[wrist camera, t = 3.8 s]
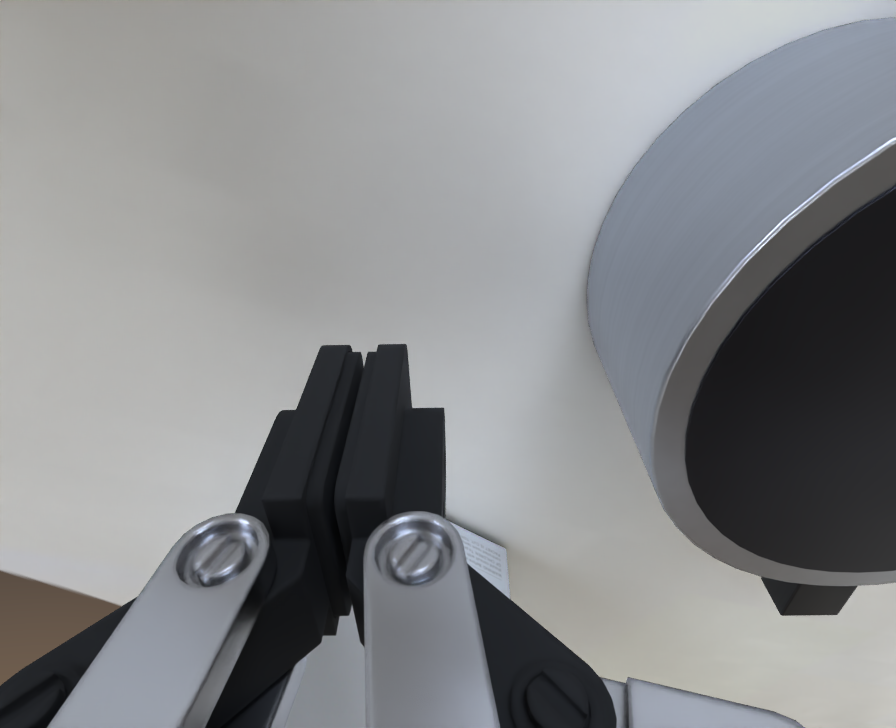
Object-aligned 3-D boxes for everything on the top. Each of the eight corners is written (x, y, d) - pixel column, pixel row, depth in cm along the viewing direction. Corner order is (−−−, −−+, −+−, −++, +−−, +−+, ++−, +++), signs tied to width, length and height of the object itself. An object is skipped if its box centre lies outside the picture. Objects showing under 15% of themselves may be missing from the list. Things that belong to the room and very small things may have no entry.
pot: (636, -95, 11) (805, -181, 6) (1254, -116, 10) (2012, -227, 5) (561, 473, 20) (599, 633, 15) (889, 468, 19) (1041, 629, 14)
